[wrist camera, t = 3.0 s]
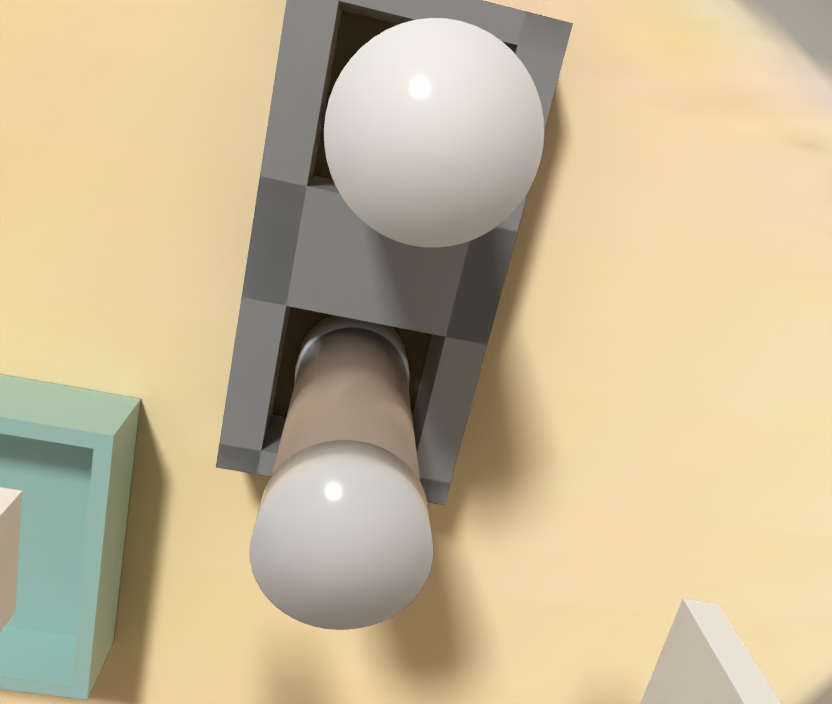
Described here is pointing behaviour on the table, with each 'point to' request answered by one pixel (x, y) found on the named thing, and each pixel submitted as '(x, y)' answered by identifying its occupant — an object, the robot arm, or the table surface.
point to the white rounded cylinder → (434, 132)
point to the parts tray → (65, 530)
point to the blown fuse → (345, 485)
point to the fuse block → (366, 245)
